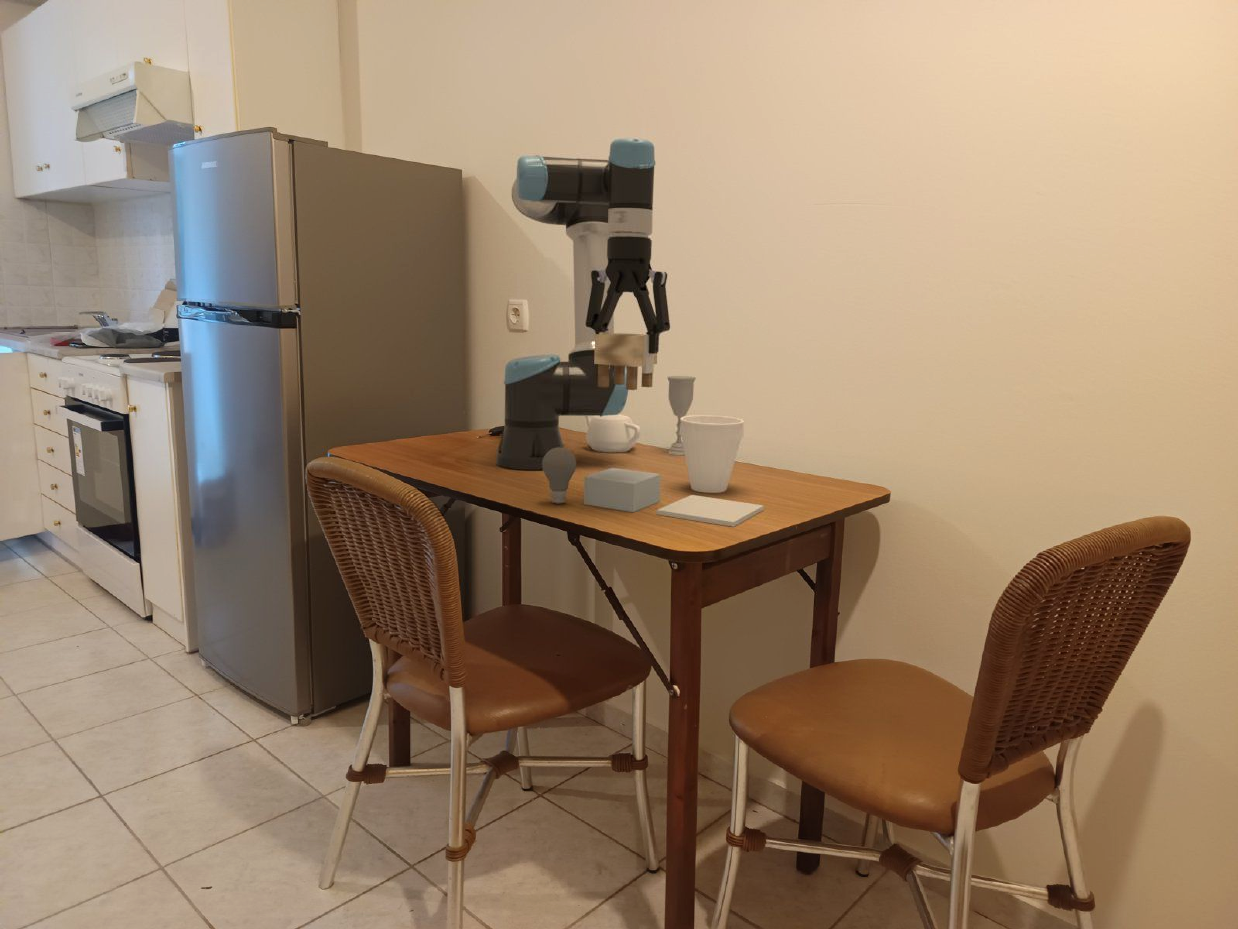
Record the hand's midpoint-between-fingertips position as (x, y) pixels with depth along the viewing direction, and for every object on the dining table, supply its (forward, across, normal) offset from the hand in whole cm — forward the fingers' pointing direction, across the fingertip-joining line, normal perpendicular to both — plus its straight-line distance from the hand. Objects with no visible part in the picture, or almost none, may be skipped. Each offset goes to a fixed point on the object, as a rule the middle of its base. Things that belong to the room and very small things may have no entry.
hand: (625, 370), depth 152 cm
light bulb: (+24, -9, -7) cm, 26 cm away
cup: (+24, +8, +20) cm, 32 cm away
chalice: (+24, -14, +52) cm, 59 cm away
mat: (+23, +16, +3) cm, 29 cm away
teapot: (+24, -30, +47) cm, 60 cm away
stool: (+3, 0, 0) cm, 3 cm away
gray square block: (+24, 0, 0) cm, 24 cm away
